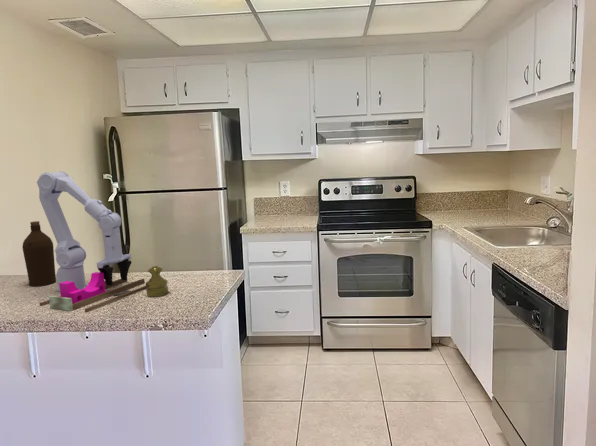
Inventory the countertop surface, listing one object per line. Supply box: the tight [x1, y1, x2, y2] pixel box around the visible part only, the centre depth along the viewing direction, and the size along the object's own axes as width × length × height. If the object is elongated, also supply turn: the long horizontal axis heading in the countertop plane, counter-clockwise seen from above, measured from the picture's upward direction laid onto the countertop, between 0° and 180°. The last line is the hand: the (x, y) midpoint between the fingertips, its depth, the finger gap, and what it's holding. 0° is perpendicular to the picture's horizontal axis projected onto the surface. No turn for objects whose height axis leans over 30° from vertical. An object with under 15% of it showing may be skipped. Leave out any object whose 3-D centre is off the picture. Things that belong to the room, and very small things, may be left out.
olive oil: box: [22, 220, 57, 287], centre depth 180 cm, size 11×11×25 cm
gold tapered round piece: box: [145, 265, 169, 298], centre depth 158 cm, size 7×7×10 cm
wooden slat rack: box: [39, 278, 147, 313], centre depth 161 cm, size 22×33×4 cm
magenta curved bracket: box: [59, 271, 107, 304], centre depth 156 cm, size 15×6×8 cm, turn 156°
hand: (116, 282), depth 168 cm, fingers open, 6 cm apart
